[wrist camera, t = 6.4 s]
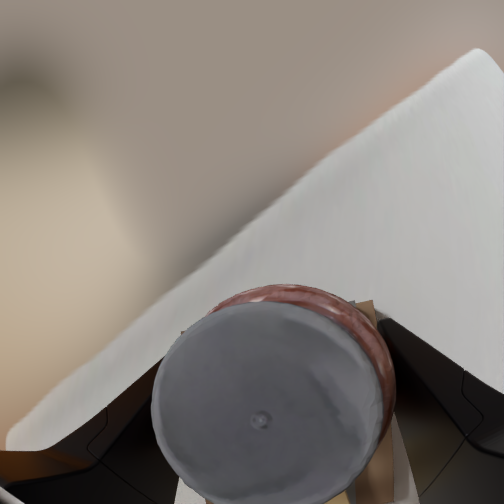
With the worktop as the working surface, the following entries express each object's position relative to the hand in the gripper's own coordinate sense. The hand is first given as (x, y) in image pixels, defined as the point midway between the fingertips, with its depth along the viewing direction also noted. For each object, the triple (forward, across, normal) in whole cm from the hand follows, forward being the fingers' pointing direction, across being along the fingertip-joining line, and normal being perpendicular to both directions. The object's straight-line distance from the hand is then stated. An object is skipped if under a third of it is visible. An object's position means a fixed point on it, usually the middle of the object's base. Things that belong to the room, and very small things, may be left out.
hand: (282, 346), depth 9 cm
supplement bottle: (+4, 0, +6) cm, 7 cm away
